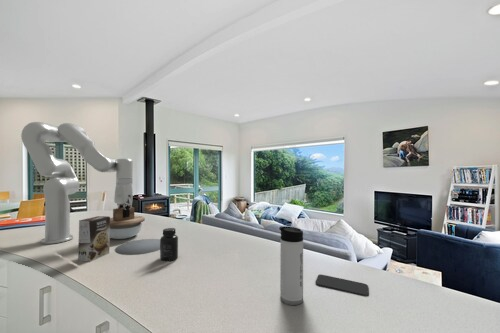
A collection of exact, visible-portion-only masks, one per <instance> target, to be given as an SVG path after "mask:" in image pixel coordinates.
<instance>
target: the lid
mask: <svg viewBox="0 0 500 333" xmlns="http://www.w3.org/2000/svg"><path fill="white" fill-rule="evenodd" d="M123 210H124V208H118V207H117V208H113V209H112V217H110V226H125V225H132V224H137V223H141V224H142V222H145V220H146V219H145V216H140V215H135V207H133V206H131V207H130V216H129V217H126V218H123Z"/></svg>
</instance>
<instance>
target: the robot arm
mask: <svg viewBox="0 0 500 333" xmlns="http://www.w3.org/2000/svg"><path fill="white" fill-rule="evenodd" d="M20 136H21V142H22V143H23V146H24V148H25V149H26V151H27V152H28V154H29V156H30V158H31V161H32V163H33V165H34V166H35V168H36V171H37V172H38V173H39V175H41V176H42V177H45V178H47V177H48V178H50V179H48V180H46V182H44V185H43V189H42V191H43V195H44V202H45V203H44V204H45V206H44V207H45V211H44V212H45V213H44V214H45V216H44V220H45V223H44V238H42V239H41V240H40V243H41V244H43V245H52V244H54V245H55V244H59V243H64V242H68V241H70V240H73V239H74V235H73V234H70V231H71V230H70V229H71V228H70V224H71V223H70V222H71V220H70V219H71V202H70V198H69V195H74V194H75V193H77V192H78V191H79V189H80V181H79V179H78V177H77V175H76V172H75V171H74V168H73V167H72V165H71V164H70V163H69V162H68V161H67V160H66V159H62V158H57V157H56V156H55V155H54V153H53V151H52V149H51V147H50V146H49V145H48V144H47V143H46V142H45V141H48V142H51V143H52V142H54V143H55V142H56V143H68V145H70V146H71V147H73V148H74V149H75V150H76V151H77V152H79V154H80V156H81V157H82V159H83V160H84V161H85V162H86V163H87V164H88V165H89V166H90V167H92V168H93V169H94V170H96V171H97V172H100V173H115V176H116V177H115V182H116V183H115V190H114V203H115V204H116V205H117V208H124V210H123V218H126V217H129V216H130V207H132V206H133V198H134V197H133V196H134V194H133V192H134V191H133V166H134V165H133V163H134V162H133V159H132V158H112V157H106V156H104V155H103V154H102V153H101V152H100V151H99V150H98V149H96V146H95V141H94V139H91V137H89V135H88V134H87V131H86V129H85V128H83V127H82V126H79V125H76V124H74V123H70V122H64V123H63V122H62V123H61V124H60V125H53V124H49V123H45V122H40V121H33V122H29V123H27V124H25V126H24V127H23V128H22V130H21V134H20Z"/></svg>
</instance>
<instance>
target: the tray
mask: <svg viewBox="0 0 500 333" xmlns="http://www.w3.org/2000/svg"><path fill="white" fill-rule="evenodd" d="M160 239H161V238H160ZM160 239H159V238H144V239H142V238H141V239H136V240H131V241H128V242H124V243H121V244H120V245H117V247H115V249H114V252H115V253H117V254H118V255H124V256H138V255H146V254H151V253H155V252H159V251H160Z"/></svg>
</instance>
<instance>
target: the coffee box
mask: <svg viewBox="0 0 500 333" xmlns="http://www.w3.org/2000/svg"><path fill="white" fill-rule="evenodd" d="M110 218H111V216H108V215H107V216H106V215H105V216H104V215H103V216H101V215H100V216H99V215H97V216H92V217H89V218H84V219H80V220H79V221H78V248H77V251H78V252H77V260H78V261H83V262H92V261H96V260H98V259H99V258H103V257H105V256H106V255H109V254H110V242H111V241H110V239H111V238H110Z"/></svg>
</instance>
